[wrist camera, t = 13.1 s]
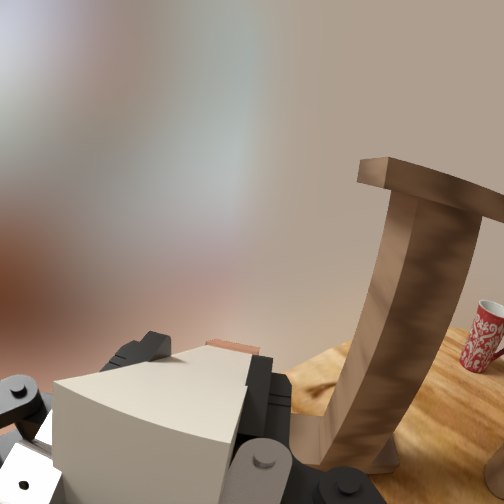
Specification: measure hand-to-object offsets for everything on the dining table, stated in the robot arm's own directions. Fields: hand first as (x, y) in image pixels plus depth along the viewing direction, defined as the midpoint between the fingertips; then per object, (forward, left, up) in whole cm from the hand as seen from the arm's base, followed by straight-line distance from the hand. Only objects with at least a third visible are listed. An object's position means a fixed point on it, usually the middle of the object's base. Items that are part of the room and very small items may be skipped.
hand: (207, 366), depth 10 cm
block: (0, -1, -4) cm, 4 cm away
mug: (-50, -36, -23) cm, 66 cm away
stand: (-14, -14, -23) cm, 30 cm away
